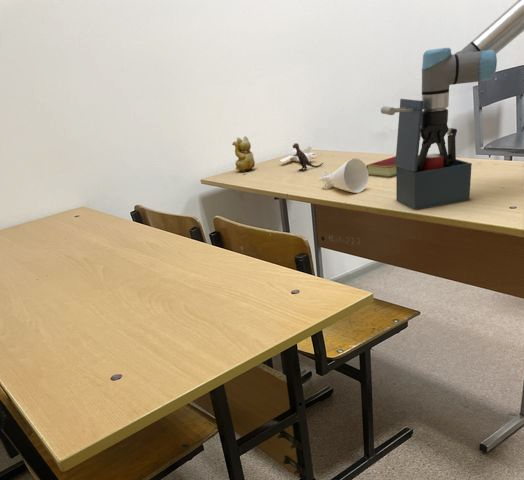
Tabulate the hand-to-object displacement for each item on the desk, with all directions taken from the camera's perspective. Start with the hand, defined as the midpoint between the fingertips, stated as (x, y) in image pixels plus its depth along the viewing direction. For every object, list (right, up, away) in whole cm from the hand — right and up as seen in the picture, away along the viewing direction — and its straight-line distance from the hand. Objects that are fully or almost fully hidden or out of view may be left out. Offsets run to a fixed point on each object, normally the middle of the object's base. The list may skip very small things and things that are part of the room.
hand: (431, 189), depth 165 cm
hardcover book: (0, +21, +45) cm, 49 cm away
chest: (0, -3, +2) cm, 3 cm away
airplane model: (-34, +39, +86) cm, 100 cm away
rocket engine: (-23, +9, +29) cm, 38 cm away
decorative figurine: (-60, +34, +84) cm, 109 cm away
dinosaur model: (-32, +30, +69) cm, 82 cm away
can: (0, 0, 0) cm, 0 cm away
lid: (-9, +13, -9) cm, 19 cm away
